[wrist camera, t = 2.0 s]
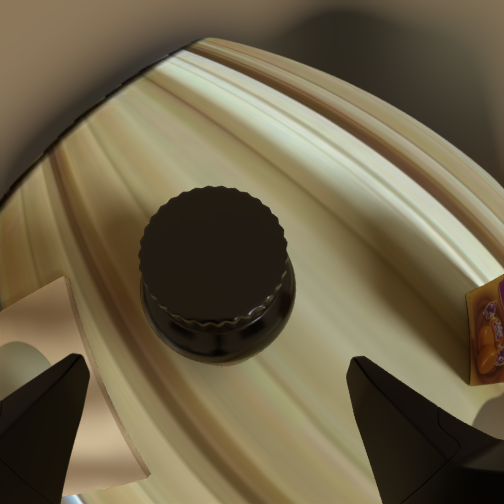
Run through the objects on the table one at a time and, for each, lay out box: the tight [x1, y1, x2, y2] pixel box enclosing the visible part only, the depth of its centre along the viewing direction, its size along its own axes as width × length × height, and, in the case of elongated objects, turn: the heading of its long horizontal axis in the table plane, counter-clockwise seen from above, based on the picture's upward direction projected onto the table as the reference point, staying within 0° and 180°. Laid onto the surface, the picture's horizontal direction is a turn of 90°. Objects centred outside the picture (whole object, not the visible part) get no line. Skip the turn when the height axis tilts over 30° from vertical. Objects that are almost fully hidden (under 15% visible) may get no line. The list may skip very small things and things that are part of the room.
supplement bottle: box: [138, 186, 296, 366], centre depth 14 cm, size 7×7×12 cm
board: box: [0, 276, 151, 496], centre depth 15 cm, size 16×16×1 cm
